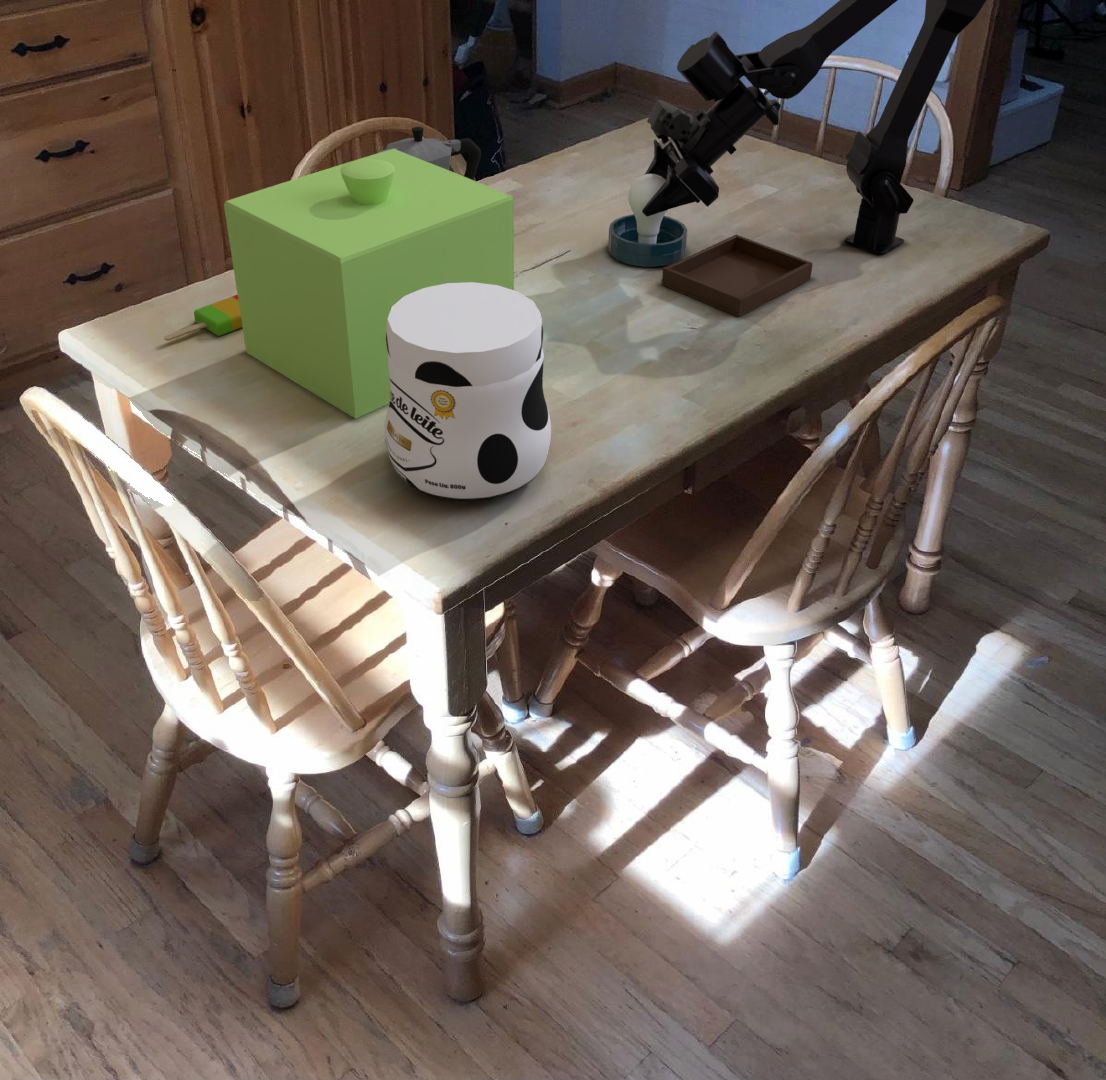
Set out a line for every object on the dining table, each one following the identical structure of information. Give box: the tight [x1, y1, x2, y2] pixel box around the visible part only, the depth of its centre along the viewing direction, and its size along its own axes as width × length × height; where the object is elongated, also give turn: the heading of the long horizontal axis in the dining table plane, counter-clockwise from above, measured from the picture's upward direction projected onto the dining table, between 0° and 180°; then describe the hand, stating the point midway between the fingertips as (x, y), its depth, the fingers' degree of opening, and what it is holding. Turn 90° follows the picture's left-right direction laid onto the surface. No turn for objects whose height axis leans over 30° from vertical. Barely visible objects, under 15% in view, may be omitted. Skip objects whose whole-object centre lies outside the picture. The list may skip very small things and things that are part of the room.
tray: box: [661, 234, 814, 318], centre depth 167 cm, size 16×13×2 cm
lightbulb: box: [627, 174, 669, 244], centre depth 171 cm, size 6×6×11 cm
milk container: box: [384, 282, 552, 502], centre depth 125 cm, size 17×17×18 cm
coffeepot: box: [376, 126, 482, 181], centre depth 168 cm, size 15×9×18 cm, turn 113°
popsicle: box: [163, 294, 243, 342], centre depth 155 cm, size 6×15×2 cm, turn 135°
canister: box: [223, 149, 515, 419], centre depth 144 cm, size 25×21×23 cm
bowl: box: [607, 213, 688, 268], centre depth 174 cm, size 11×11×4 cm
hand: (639, 204), depth 171 cm, fingers closed on lightbulb, 6 cm apart
